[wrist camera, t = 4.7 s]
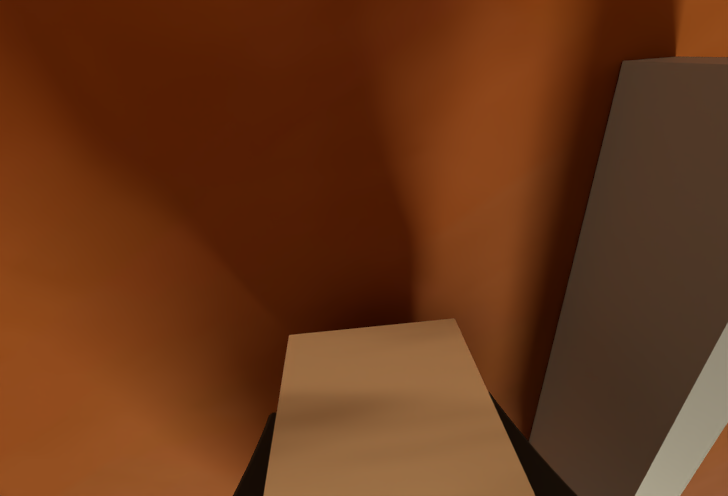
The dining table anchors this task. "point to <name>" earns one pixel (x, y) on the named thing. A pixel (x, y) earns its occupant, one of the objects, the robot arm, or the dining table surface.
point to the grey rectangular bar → (646, 292)
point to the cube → (388, 417)
